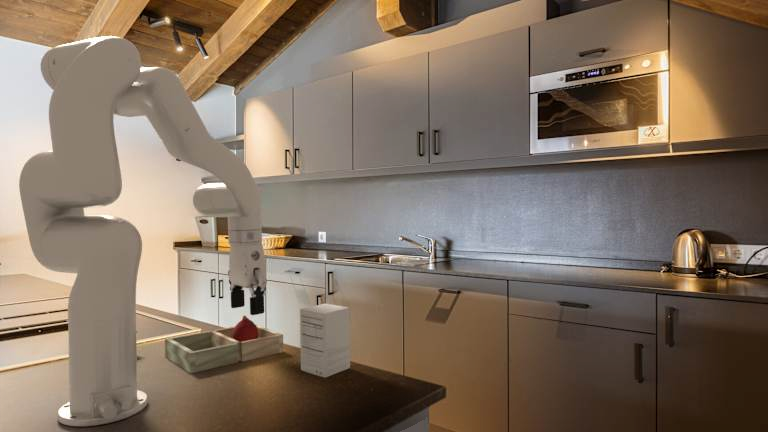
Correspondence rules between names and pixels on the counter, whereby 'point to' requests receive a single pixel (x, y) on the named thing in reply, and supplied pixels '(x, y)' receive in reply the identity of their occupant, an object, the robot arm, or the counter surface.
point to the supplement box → (325, 339)
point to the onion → (245, 330)
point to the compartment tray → (220, 348)
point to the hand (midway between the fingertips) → (247, 310)
